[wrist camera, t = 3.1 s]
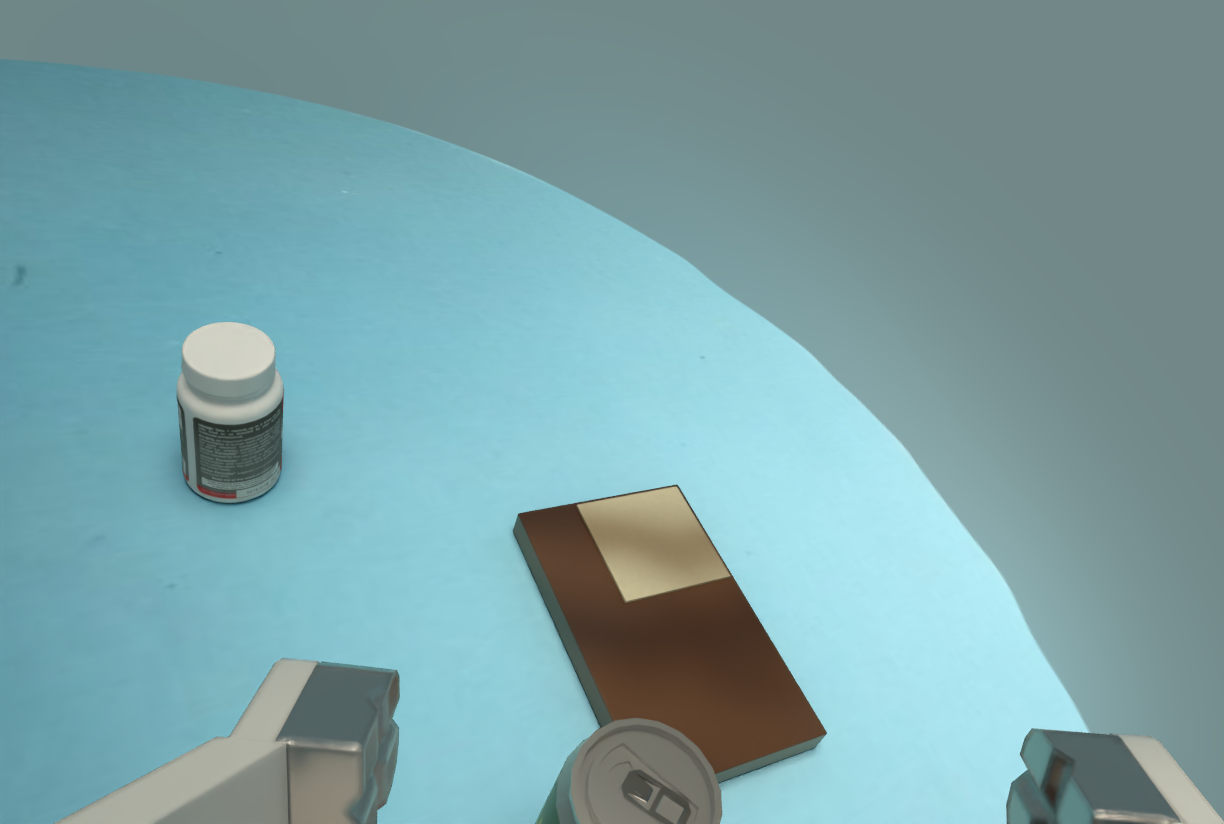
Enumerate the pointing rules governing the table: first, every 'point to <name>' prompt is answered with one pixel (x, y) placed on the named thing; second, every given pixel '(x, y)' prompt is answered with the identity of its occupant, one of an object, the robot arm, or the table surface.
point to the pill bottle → (230, 412)
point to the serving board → (665, 628)
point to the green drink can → (635, 779)
